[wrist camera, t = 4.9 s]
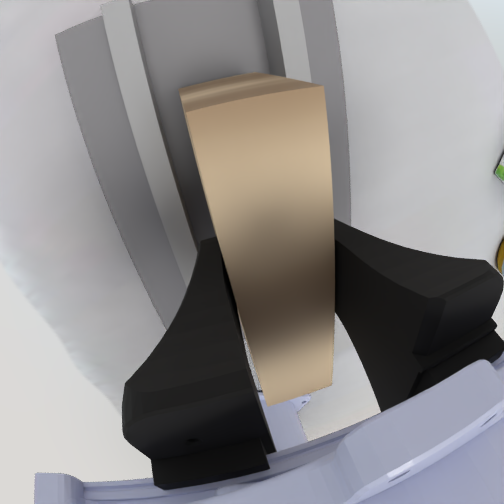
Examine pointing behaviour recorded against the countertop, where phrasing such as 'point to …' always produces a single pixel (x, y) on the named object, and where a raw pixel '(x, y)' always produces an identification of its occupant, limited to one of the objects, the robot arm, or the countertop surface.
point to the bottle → (501, 258)
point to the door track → (172, 115)
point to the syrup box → (500, 170)
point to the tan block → (272, 219)
